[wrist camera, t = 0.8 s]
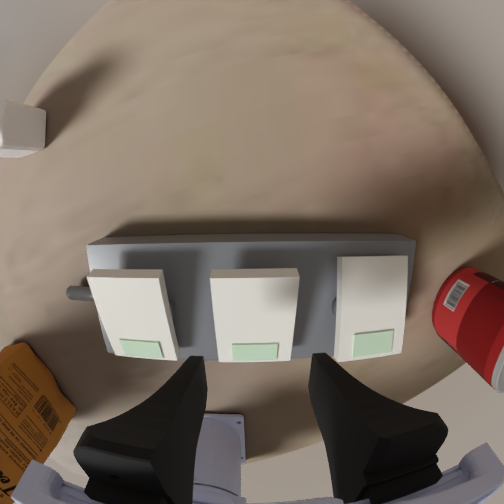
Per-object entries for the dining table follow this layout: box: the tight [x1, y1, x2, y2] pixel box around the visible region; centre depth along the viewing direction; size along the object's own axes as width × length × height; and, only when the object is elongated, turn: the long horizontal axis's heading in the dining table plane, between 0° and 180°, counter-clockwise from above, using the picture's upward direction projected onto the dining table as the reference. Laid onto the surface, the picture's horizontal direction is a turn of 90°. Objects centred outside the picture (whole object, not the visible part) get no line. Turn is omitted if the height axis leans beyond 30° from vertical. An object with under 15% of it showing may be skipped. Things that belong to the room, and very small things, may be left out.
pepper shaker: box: [0, 100, 46, 158], centre depth 14 cm, size 4×4×10 cm
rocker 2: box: [210, 268, 300, 362], centre depth 18 cm, size 7×5×2 cm
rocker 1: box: [87, 269, 180, 361], centre depth 18 cm, size 7×5×2 cm
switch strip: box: [66, 233, 416, 360], centre depth 21 cm, size 9×28×3 cm, turn 91°
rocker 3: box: [332, 255, 408, 362], centre depth 18 cm, size 7×5×2 cm
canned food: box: [432, 268, 504, 393], centre depth 18 cm, size 8×8×11 cm
